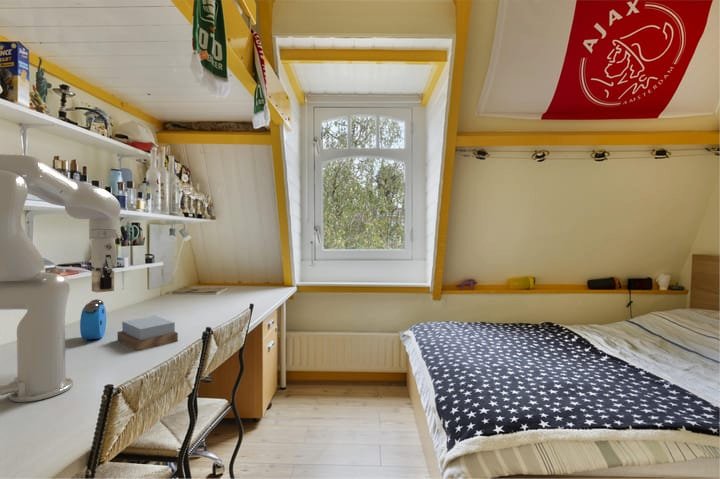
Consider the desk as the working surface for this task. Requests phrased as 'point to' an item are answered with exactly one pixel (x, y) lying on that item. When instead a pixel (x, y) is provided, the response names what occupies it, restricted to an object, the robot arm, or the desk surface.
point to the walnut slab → (146, 340)
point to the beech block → (96, 281)
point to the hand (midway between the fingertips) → (102, 287)
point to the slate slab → (148, 327)
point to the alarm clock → (93, 320)
